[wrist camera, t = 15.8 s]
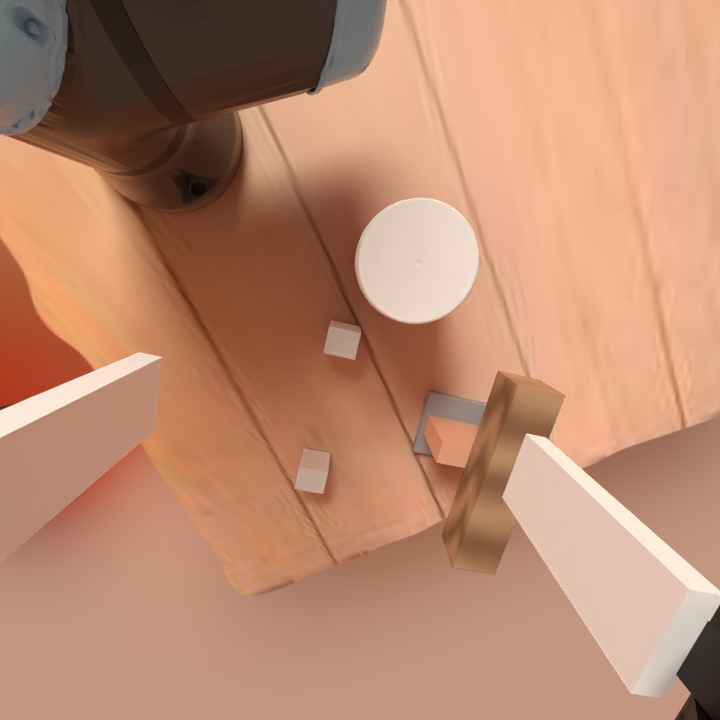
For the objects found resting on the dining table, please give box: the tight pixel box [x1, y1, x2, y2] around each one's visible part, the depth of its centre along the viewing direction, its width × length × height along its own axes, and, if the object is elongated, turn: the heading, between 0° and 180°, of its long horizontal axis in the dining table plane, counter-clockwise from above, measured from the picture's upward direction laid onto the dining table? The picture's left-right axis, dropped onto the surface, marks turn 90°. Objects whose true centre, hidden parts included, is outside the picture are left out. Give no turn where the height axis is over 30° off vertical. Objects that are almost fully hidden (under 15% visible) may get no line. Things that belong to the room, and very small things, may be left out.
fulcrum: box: [412, 391, 487, 468], centre depth 43 cm, size 12×8×8 cm, turn 77°
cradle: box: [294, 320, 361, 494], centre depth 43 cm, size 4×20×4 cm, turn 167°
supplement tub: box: [354, 198, 479, 324], centre depth 34 cm, size 10×10×15 cm
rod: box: [442, 371, 565, 575], centre depth 37 cm, size 20×4×4 cm, turn 167°
